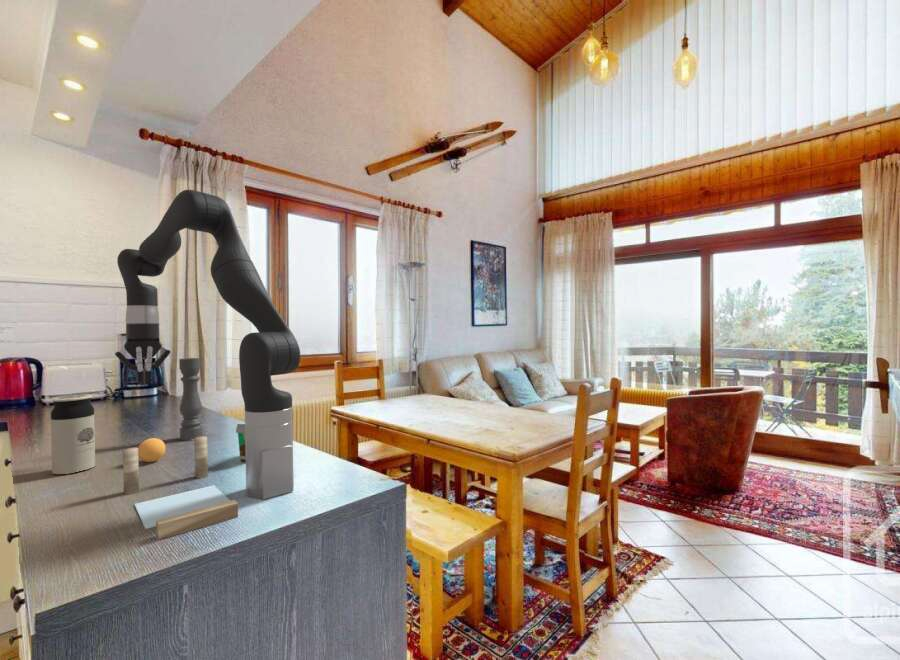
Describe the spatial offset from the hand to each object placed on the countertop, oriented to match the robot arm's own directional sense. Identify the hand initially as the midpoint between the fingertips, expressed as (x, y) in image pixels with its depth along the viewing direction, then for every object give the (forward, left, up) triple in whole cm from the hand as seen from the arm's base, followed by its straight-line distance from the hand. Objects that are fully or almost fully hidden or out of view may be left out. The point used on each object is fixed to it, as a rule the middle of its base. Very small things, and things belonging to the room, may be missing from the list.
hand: (144, 384), depth 119 cm
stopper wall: (-61, 0, -19) cm, 64 cm away
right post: (-33, -7, -19) cm, 39 cm away
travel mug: (-5, +15, -19) cm, 25 cm away
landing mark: (-49, 0, -19) cm, 53 cm away
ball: (-11, 0, -16) cm, 19 cm away
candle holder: (+9, -13, -19) cm, 25 cm away
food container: (-28, -22, -19) cm, 40 cm away
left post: (-33, +7, -19) cm, 39 cm away
